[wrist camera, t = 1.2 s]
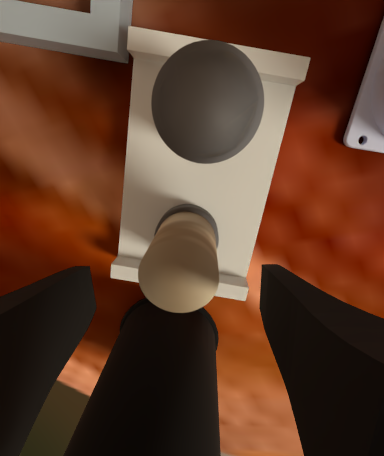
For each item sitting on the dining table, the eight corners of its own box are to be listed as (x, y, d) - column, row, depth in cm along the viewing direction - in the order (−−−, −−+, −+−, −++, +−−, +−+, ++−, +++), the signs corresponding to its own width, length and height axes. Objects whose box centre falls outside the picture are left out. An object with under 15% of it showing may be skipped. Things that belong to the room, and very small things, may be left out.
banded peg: (223, 209, 16) (232, 244, 11) (211, 265, 18) (214, 323, 12) (161, 198, 16) (137, 228, 11) (154, 255, 18) (129, 308, 12)
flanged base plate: (292, 72, 15) (310, 57, 12) (240, 279, 20) (245, 300, 17) (142, 46, 15) (128, 25, 12) (123, 259, 20) (110, 277, 17)
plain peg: (248, 88, 14) (277, 50, 8) (233, 161, 15) (249, 171, 10) (177, 75, 14) (158, 29, 8) (167, 150, 15) (145, 153, 10)
